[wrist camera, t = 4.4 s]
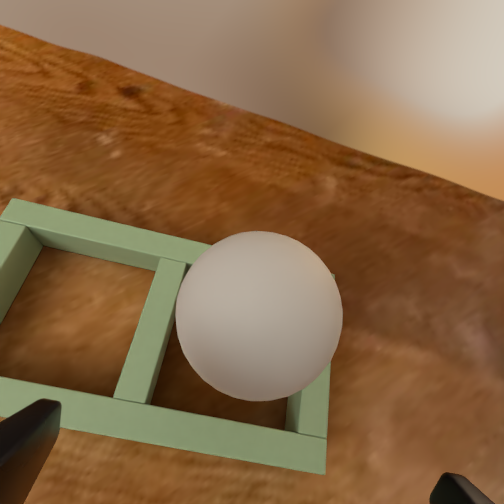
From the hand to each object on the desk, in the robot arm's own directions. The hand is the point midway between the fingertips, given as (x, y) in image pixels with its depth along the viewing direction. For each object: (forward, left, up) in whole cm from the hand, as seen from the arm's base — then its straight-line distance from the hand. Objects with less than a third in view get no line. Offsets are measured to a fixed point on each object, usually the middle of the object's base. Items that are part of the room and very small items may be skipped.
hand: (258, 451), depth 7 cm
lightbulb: (+2, +4, -11) cm, 12 cm away
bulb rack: (-2, +6, -11) cm, 13 cm away
